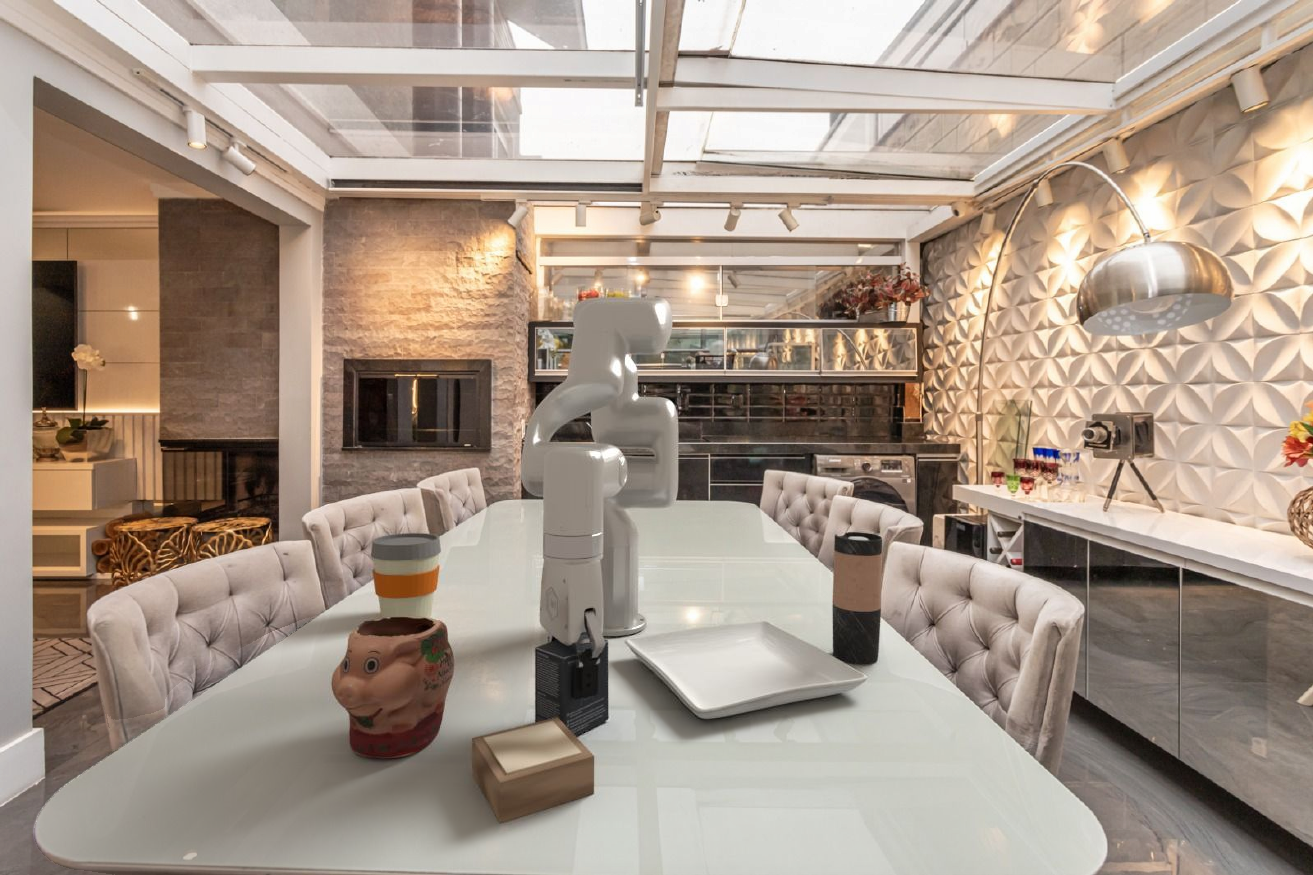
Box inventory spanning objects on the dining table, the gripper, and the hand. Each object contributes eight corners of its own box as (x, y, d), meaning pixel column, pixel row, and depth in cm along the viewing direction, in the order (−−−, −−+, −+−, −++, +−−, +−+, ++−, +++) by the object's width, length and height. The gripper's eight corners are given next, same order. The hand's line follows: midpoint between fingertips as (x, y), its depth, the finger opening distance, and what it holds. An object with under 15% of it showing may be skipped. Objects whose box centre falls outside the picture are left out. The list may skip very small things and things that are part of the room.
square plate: (621, 660, 107) (621, 636, 107) (765, 639, 118) (766, 617, 117) (697, 737, 82) (697, 706, 82) (870, 701, 93) (871, 673, 93)
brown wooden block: (471, 773, 72) (471, 736, 72) (557, 750, 77) (557, 715, 77) (500, 823, 64) (500, 780, 64) (594, 793, 69) (594, 754, 69)
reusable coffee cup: (440, 604, 135) (440, 531, 134) (441, 623, 123) (441, 543, 122) (374, 609, 131) (373, 534, 130) (367, 629, 119) (367, 547, 118)
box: (579, 707, 89) (580, 630, 88) (609, 721, 85) (610, 640, 84) (533, 728, 83) (533, 645, 82) (563, 744, 79) (564, 657, 78)
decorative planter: (397, 696, 92) (397, 597, 91) (481, 702, 90) (481, 601, 89) (302, 774, 72) (301, 648, 71) (408, 784, 70) (408, 655, 70)
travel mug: (882, 667, 104) (886, 541, 103) (832, 663, 105) (835, 539, 105) (876, 650, 111) (879, 533, 111) (829, 646, 113) (832, 530, 112)
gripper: (521, 536, 88) (520, 667, 89) (573, 562, 73) (572, 719, 74) (572, 531, 92) (572, 657, 93) (632, 556, 77) (631, 705, 78)
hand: (572, 684), depth 83 cm, fingers closed on box, 7 cm apart
